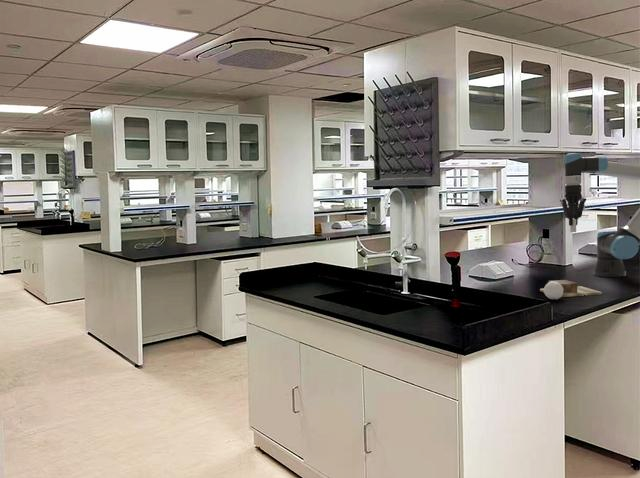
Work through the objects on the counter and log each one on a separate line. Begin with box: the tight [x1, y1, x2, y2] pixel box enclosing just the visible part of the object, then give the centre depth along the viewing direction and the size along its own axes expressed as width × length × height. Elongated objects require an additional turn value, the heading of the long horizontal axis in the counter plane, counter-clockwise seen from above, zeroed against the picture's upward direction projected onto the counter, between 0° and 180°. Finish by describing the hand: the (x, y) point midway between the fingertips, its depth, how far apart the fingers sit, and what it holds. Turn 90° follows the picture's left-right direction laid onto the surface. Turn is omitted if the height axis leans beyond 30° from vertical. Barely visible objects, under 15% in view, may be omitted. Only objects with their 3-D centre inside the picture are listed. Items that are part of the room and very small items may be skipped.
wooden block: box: [547, 279, 578, 293], centre depth 254 cm, size 4×10×8 cm
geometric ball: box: [543, 280, 563, 300], centre depth 241 cm, size 8×8×8 cm
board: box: [539, 285, 603, 298], centre depth 254 cm, size 20×16×1 cm
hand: (573, 232), depth 283 cm, fingers closed
